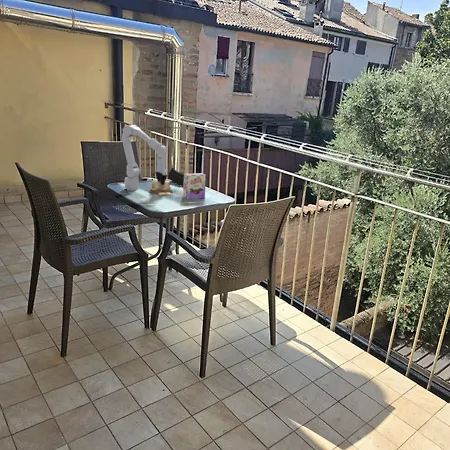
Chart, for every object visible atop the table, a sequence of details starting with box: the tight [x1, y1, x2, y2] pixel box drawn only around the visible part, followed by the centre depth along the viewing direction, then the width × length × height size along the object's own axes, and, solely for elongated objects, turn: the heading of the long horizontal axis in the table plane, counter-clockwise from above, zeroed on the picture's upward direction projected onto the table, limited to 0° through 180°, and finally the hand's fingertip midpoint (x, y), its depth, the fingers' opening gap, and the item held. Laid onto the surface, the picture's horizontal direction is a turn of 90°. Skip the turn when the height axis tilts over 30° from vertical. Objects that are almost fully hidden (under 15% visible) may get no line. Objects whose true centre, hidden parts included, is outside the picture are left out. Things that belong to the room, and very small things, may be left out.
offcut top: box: [157, 192, 172, 197], centre depth 276 cm, size 8×4×1 cm, turn 116°
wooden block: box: [151, 180, 171, 190], centre depth 283 cm, size 12×2×8 cm, turn 114°
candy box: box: [182, 172, 207, 200], centre depth 274 cm, size 14×6×16 cm, turn 117°
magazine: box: [167, 167, 185, 187], centre depth 312 cm, size 17×3×30 cm
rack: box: [148, 189, 174, 194], centre depth 283 cm, size 16×5×2 cm, turn 114°
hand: (161, 183), depth 282 cm, fingers open, 7 cm apart
